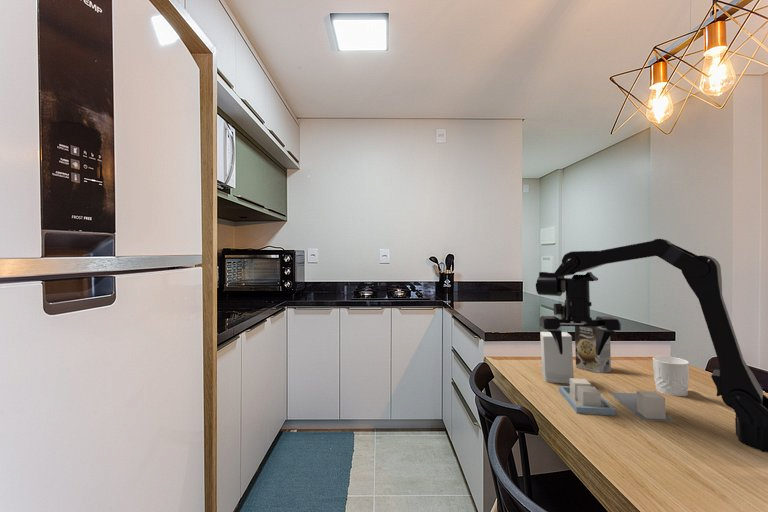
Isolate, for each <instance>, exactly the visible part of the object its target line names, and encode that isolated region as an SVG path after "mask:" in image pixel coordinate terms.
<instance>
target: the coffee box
mask: <svg viewBox="0 0 768 512" xmlns="http://www.w3.org/2000/svg"><path fill="white" fill-rule="evenodd" d="M574 341H575V342H574V346H575V347H574V348H575V353H574V354H575V367H576V368H578V369H580V370H581V369H582V370H585V371H587V372H591V373H594V374H607V373H610V372H612V367H611V366H612V363H611V362H612V361H611V360H612V359H611V358H612V356H611V336H610V337H609V339H608V340H607V342H606V343H605V345H604V347H603V349H602V351H601V353H600V355H599V356H598V355H596V331H595V326H574Z"/></svg>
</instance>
